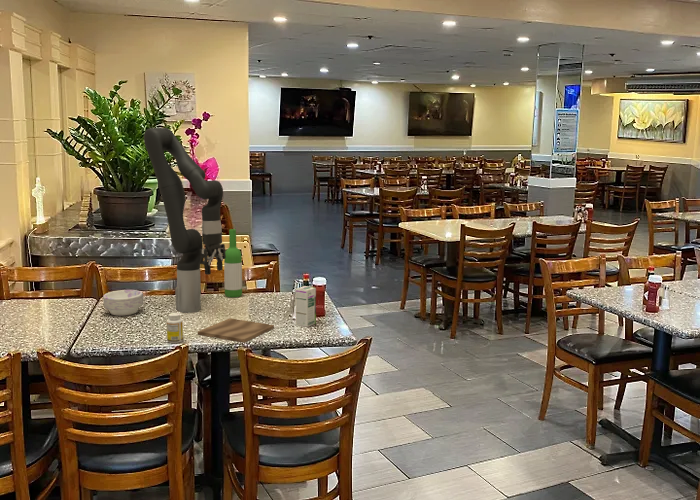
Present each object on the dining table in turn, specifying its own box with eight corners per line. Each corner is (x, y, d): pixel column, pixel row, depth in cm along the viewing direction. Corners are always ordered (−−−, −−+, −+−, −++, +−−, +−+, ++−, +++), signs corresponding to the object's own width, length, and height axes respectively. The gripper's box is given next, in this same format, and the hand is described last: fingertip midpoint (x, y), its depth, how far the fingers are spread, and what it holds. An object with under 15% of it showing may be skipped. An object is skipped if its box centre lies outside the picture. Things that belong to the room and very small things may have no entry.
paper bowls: (95, 315, 267) (94, 295, 266) (121, 306, 281) (120, 287, 280) (126, 319, 262) (125, 299, 260) (151, 310, 276) (151, 291, 274)
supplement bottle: (177, 338, 240) (176, 311, 238) (186, 341, 237) (185, 314, 235) (164, 341, 236) (163, 314, 234) (173, 344, 233) (172, 317, 231)
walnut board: (197, 334, 244) (197, 331, 244) (229, 321, 262) (229, 318, 262) (244, 342, 236) (244, 339, 236) (274, 328, 254) (274, 325, 254)
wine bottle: (222, 297, 299) (221, 230, 294) (228, 293, 306) (227, 227, 301) (239, 298, 298) (238, 231, 293) (244, 294, 305) (244, 228, 300)
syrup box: (307, 327, 256) (307, 290, 253) (294, 325, 259) (295, 288, 256) (316, 324, 261) (316, 287, 258) (303, 321, 264) (303, 285, 261)
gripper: (213, 229, 273) (215, 268, 275) (193, 233, 260) (195, 275, 262) (229, 229, 270) (231, 269, 273) (209, 234, 257) (212, 276, 260)
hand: (214, 272), depth 267 cm, fingers open, 8 cm apart
